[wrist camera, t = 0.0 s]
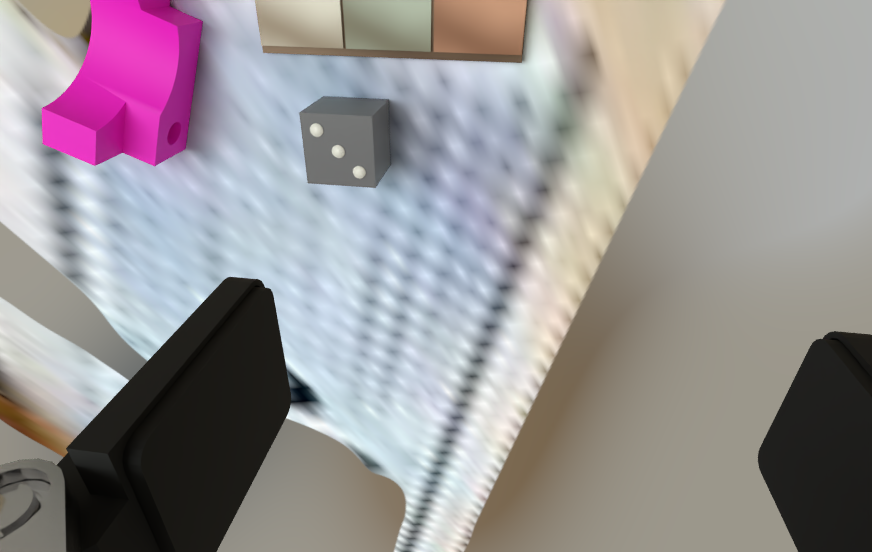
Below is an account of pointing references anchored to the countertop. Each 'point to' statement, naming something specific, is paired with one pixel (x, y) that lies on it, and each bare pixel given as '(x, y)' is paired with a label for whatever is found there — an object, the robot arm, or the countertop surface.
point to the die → (346, 141)
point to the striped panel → (395, 28)
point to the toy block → (129, 85)
